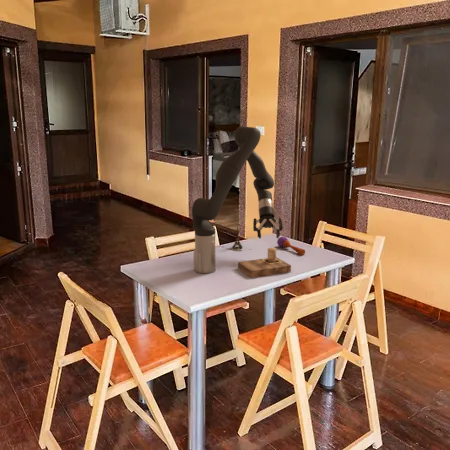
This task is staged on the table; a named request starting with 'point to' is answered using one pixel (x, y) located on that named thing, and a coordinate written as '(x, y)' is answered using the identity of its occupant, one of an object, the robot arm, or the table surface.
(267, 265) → the pin board
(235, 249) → the eiffel tower figurine
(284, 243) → the maraca
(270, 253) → the pin
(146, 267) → the table surface
